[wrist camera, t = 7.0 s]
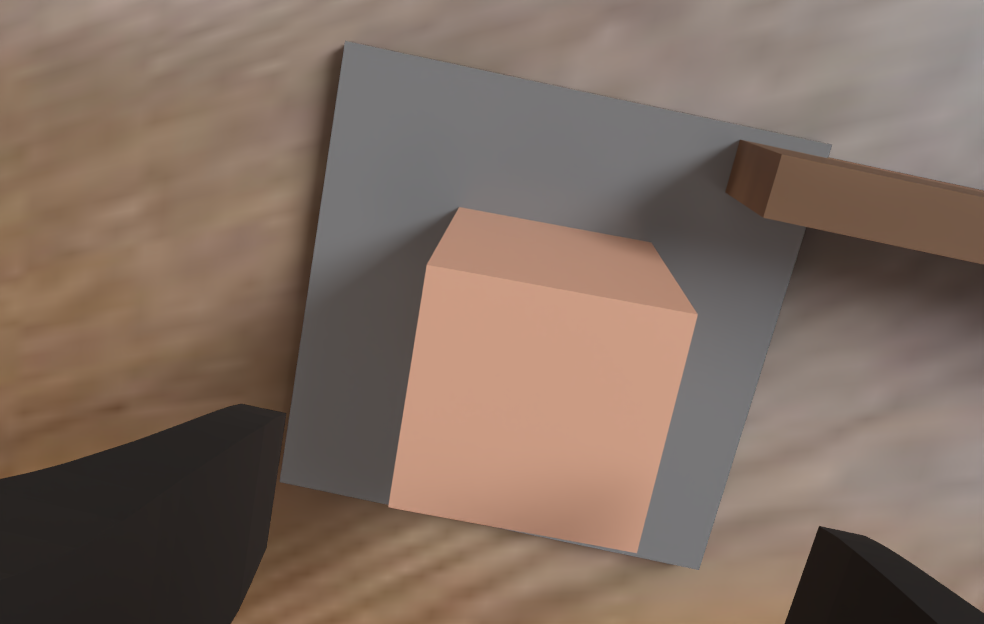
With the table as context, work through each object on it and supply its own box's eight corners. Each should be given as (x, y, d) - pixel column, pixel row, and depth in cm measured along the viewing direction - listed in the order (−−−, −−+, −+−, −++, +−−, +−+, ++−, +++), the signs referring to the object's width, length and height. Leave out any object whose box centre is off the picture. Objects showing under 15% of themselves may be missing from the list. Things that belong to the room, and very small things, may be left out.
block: (609, 419, 21) (637, 553, 15) (429, 386, 21) (388, 507, 15) (651, 242, 20) (697, 314, 14) (459, 207, 20) (427, 264, 14)
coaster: (695, 557, 23) (698, 569, 22) (286, 471, 22) (279, 482, 22) (823, 142, 20) (831, 144, 19) (350, 41, 19) (345, 40, 19)
